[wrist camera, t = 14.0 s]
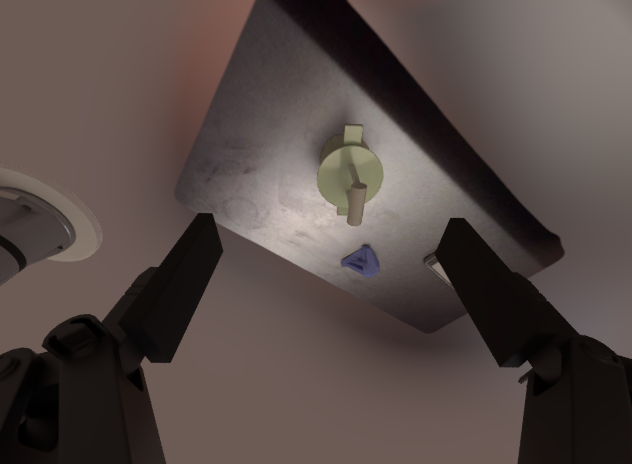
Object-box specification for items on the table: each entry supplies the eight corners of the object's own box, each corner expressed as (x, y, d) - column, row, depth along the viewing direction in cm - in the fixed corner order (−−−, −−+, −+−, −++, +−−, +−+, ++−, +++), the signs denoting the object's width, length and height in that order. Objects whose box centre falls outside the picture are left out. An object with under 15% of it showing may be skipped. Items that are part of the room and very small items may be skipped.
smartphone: (454, 244, 50) (487, 277, 56) (452, 241, 51) (484, 274, 57) (424, 263, 53) (457, 292, 59) (422, 260, 54) (455, 289, 60)
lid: (316, 203, 38) (316, 239, 30) (317, 142, 32) (318, 169, 25) (375, 204, 38) (389, 240, 30) (387, 144, 32) (408, 171, 25)
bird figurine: (387, 257, 53) (372, 243, 50) (380, 282, 51) (365, 269, 47) (358, 257, 59) (343, 244, 56) (351, 279, 57) (335, 267, 53)
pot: (318, 195, 44) (318, 217, 38) (321, 114, 36) (321, 126, 30) (363, 196, 44) (370, 218, 38) (376, 115, 36) (387, 127, 30)
